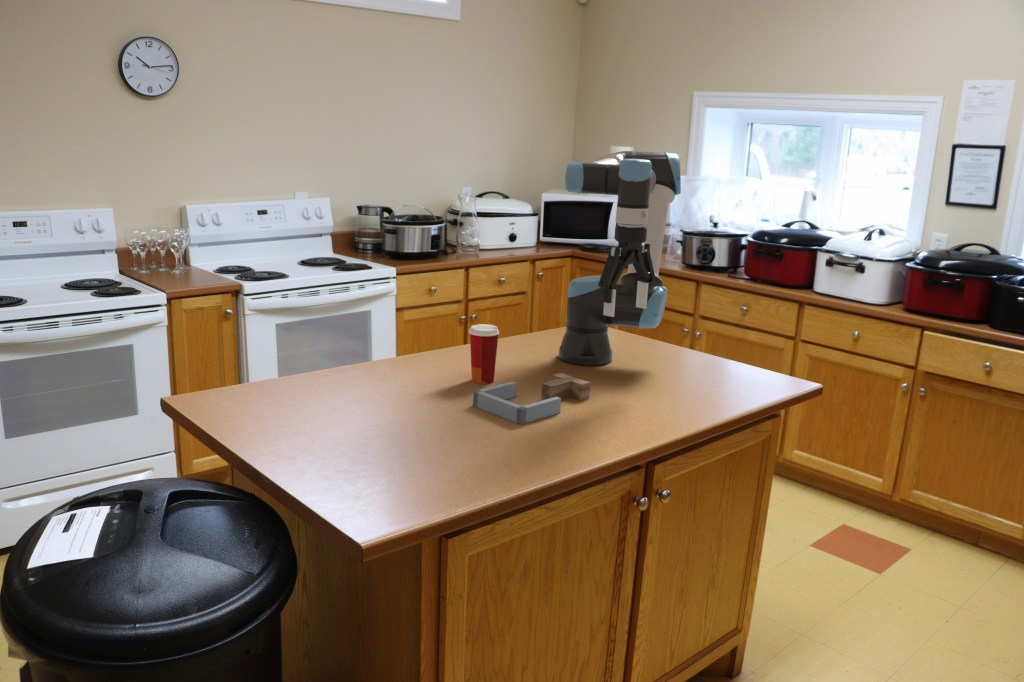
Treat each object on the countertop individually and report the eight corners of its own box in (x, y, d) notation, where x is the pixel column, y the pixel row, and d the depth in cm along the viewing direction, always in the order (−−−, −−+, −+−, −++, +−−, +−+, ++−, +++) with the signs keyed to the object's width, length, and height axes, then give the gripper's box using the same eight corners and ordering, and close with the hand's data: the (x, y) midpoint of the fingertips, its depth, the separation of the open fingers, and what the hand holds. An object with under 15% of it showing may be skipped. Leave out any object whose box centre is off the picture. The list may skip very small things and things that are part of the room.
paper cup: (499, 377, 218) (501, 324, 214) (495, 386, 211) (497, 331, 207) (469, 375, 219) (470, 322, 215) (464, 384, 211) (466, 329, 208)
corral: (473, 405, 196) (473, 391, 195) (512, 395, 204) (512, 381, 203) (521, 424, 185) (521, 409, 184) (560, 412, 193) (560, 398, 192)
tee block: (589, 398, 204) (590, 382, 203) (561, 406, 198) (562, 390, 197) (559, 387, 211) (560, 372, 210) (531, 395, 205) (531, 379, 204)
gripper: (613, 230, 190) (607, 322, 196) (673, 223, 208) (666, 307, 214) (586, 227, 195) (581, 316, 201) (647, 219, 213) (641, 302, 218)
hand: (625, 311), depth 207 cm, fingers open, 13 cm apart
